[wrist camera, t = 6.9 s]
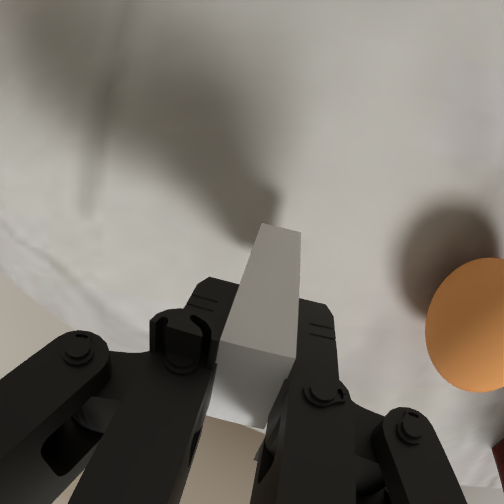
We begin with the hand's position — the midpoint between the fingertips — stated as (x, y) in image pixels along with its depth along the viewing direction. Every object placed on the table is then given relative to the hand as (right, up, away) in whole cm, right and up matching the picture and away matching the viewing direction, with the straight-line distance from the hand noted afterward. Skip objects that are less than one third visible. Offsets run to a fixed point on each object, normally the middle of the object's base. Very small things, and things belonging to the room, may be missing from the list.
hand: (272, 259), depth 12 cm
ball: (+9, -3, -1) cm, 10 cm away
